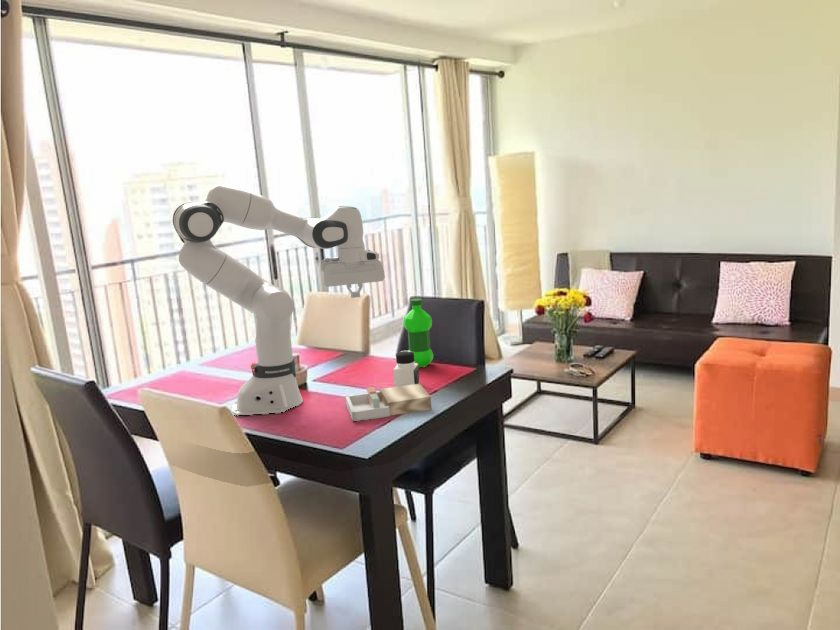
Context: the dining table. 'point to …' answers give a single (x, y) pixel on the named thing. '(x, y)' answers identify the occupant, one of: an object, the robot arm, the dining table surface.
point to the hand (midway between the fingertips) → (355, 297)
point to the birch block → (406, 399)
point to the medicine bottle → (405, 369)
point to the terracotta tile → (370, 391)
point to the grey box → (365, 407)
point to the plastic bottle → (419, 333)
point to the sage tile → (374, 401)
